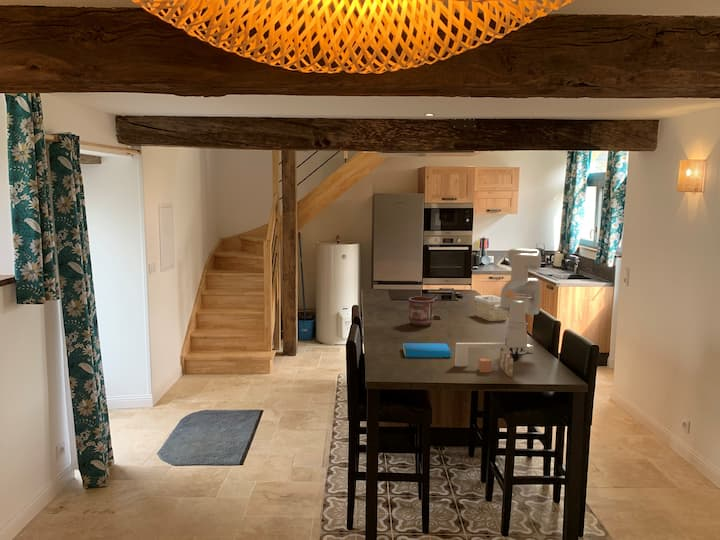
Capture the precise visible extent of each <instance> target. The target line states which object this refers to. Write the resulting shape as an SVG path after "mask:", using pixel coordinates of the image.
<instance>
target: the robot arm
mask: <svg viewBox="0 0 720 540" xmlns="http://www.w3.org/2000/svg"><path fill="white" fill-rule="evenodd" d="M541 253H542V252H541V251H540V250H539V249H534V248H533V249H532V248H511V249H508V251H507V260H508V262H509V264H510V267H511V268H510V279H509V280H508V281H506V283H505V284H504V286H503V287H502V289H501V294H500V298H501V302H500V305H501V309H502V310H504V311H508V325H507V326H506V330H505V335H504V336H505V337H504V343H505V345H506V346H505V349H506V350H510V354H511V357H512V358H513V363H515V362H518V361H519V359H520V355H525V354H527V353H528V349H529V350H530V349H531V350H533V349H534V348H535V347H534V345H530V344H528V333H527V326H528V325H529V322H527V321H526V315H538V314H539V313H540V310H541V300H542V299H541V298H542V297H541V296H542V283H541V280H540V279H538V278H534V277H529V271H538V270H540V268H541V265H542V254H541ZM510 291H511V293H513V295H514V294H515V295H516V296H515V295H514V296H511V295H510V296H507V294H508V292H510ZM517 295H519V296H517ZM520 295H523V296H520Z"/></svg>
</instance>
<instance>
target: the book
mask: <svg viewBox="0 0 720 540" xmlns="http://www.w3.org/2000/svg"><path fill="white" fill-rule="evenodd" d="M402 351H403V354H404V357H405V358H442V357H451V356H452V351H451V349H450V347H449V346H448V344H447V343H438V342H437V343H435V342H434V343H433V342H432V343H431V342H430V343H426V342H422V343H421V342H420V343H419V342H418V343H416V342H414V343H411V342H408V343H406V342H405V343H404V342H403V343H402ZM451 358H452V357H451Z"/></svg>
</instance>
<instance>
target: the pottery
mask: <svg viewBox="0 0 720 540" xmlns="http://www.w3.org/2000/svg"><path fill="white" fill-rule="evenodd" d="M435 301H436V299H435V298H433V297H430V296H412V297H408V321H409V324H411V325H412V326H414V327H421V328H422V327H423V328H424V327H428V326H430V325H431V324H432V323H433V322H434V311H435V310H434V308H435Z"/></svg>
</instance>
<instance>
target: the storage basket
mask: <svg viewBox="0 0 720 540" xmlns="http://www.w3.org/2000/svg"><path fill="white" fill-rule="evenodd" d="M473 301H474V316H476V317H478V318H480V317H481V319H483V320H486V321H489V322H496V321H498V322H499V321H506V320H507V318H508V313H509V311H504V310H502V309H501V305H500V302H501V296H498V295H497V296H496V295H494V294H488V295H485V294H484V295H475V296H474V298H473Z"/></svg>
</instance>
